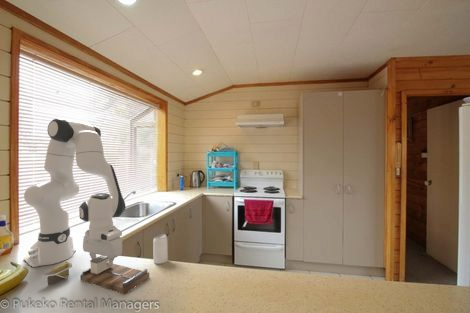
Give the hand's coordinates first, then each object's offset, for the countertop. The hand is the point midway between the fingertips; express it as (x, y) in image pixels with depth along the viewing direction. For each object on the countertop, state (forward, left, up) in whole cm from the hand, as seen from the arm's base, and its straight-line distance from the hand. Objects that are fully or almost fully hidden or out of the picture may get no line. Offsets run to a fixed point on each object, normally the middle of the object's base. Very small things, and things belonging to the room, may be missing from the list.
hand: (102, 263), depth 94 cm
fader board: (+8, 0, -5) cm, 9 cm away
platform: (-13, -9, -5) cm, 17 cm away
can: (+15, +19, -5) cm, 25 cm away
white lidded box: (0, 0, -2) cm, 2 cm away
